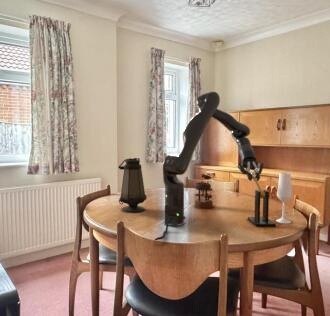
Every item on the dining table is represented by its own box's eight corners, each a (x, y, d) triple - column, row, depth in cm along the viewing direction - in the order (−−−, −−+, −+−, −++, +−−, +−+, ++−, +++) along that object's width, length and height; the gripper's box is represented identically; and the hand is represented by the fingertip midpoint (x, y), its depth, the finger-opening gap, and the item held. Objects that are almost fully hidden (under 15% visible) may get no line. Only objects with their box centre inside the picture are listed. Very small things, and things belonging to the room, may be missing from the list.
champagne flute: (272, 220, 148) (274, 172, 146) (283, 218, 150) (284, 172, 148) (283, 224, 142) (285, 174, 140) (294, 222, 144) (296, 173, 142)
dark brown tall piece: (204, 203, 186) (206, 171, 183) (217, 207, 177) (220, 175, 174) (186, 206, 178) (188, 173, 175) (199, 211, 169) (202, 177, 166)
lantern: (128, 215, 159) (127, 159, 157) (112, 209, 171) (112, 158, 169) (153, 209, 171) (153, 157, 168) (137, 204, 183) (137, 156, 180)
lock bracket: (247, 219, 150) (248, 188, 149) (265, 219, 150) (266, 188, 148) (256, 226, 138) (257, 193, 137) (275, 226, 138) (276, 193, 137)
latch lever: (248, 176, 156) (249, 171, 154) (254, 176, 156) (256, 171, 154) (258, 199, 143) (260, 194, 141) (265, 198, 143) (266, 194, 141)
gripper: (235, 149, 160) (242, 175, 149) (261, 149, 160) (270, 175, 149) (232, 158, 166) (239, 184, 155) (257, 158, 166) (266, 183, 155)
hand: (254, 179), depth 152 cm, fingers closed on latch lever, 3 cm apart
